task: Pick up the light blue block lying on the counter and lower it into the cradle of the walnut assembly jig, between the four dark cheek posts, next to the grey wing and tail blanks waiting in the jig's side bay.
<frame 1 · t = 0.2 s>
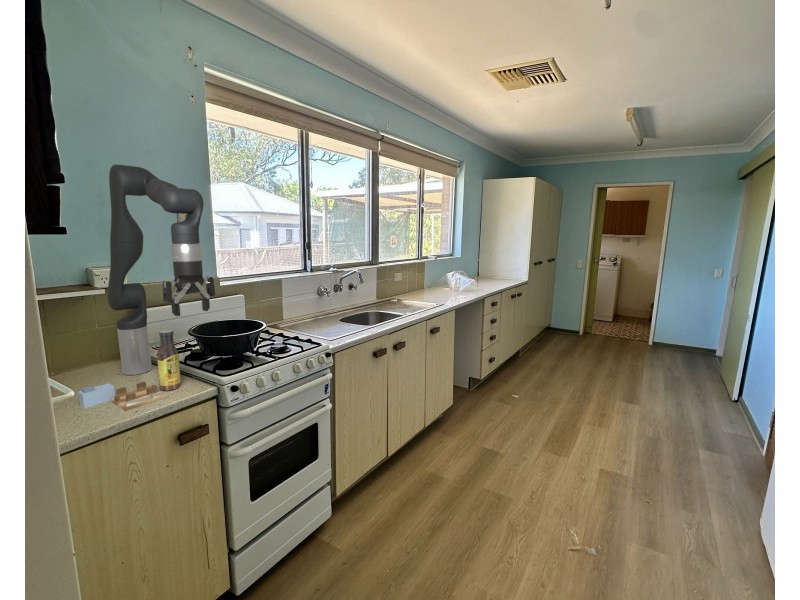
hand: (191, 313, 116), 29 cm above the countertop, tool pointing down, fingers open, 8 cm apart
light blue block: (98, 402, 121), on the countertop
sauce bottle: (170, 388, 132), on the countertop
jig: (137, 398, 124), on the countertop
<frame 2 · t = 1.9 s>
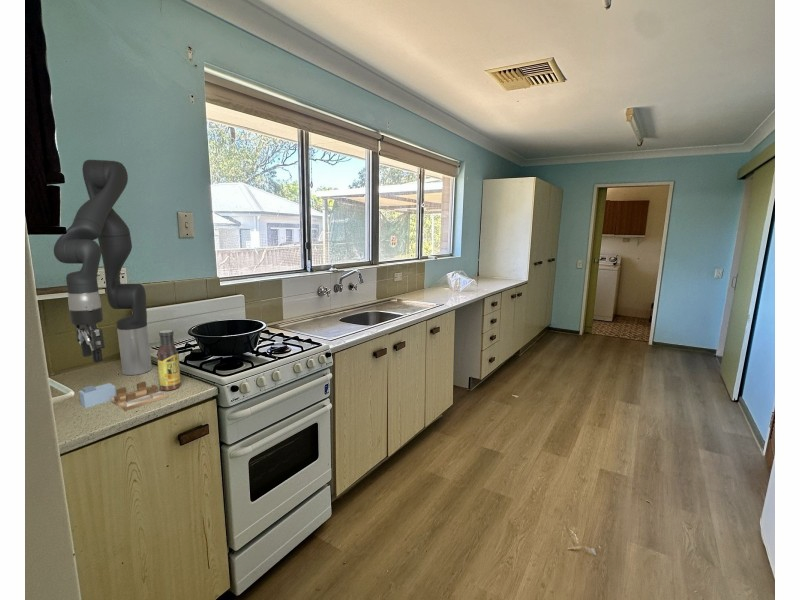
hand: (92, 358, 118), 14 cm above the countertop, tool pointing down, fingers open, 8 cm apart
nothing on the countertop moved.
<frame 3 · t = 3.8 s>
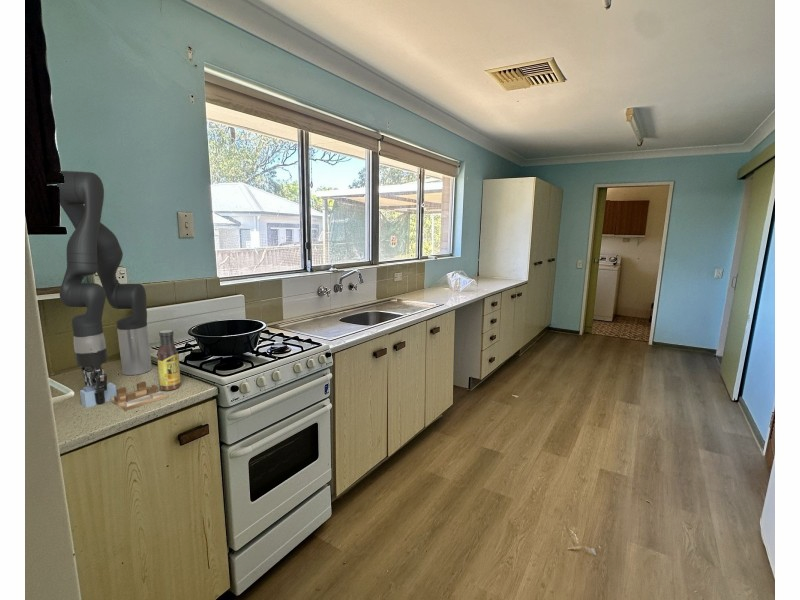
hand: (97, 400, 121), 0 cm above the countertop, tool pointing down, fingers closed on light blue block, 4 cm apart
light blue block: (99, 401, 121), on the countertop, touching gripper
everything else where it was.
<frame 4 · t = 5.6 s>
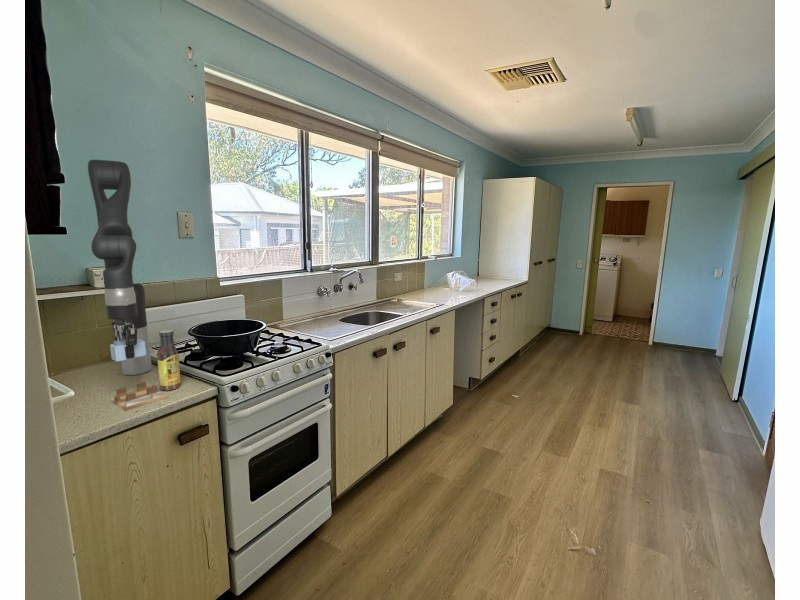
hand: (127, 356, 120), 14 cm above the countertop, tool pointing down, fingers closed on light blue block, 4 cm apart
light blue block: (129, 356, 121), point 14 cm above the countertop, touching gripper
everything else where it was.
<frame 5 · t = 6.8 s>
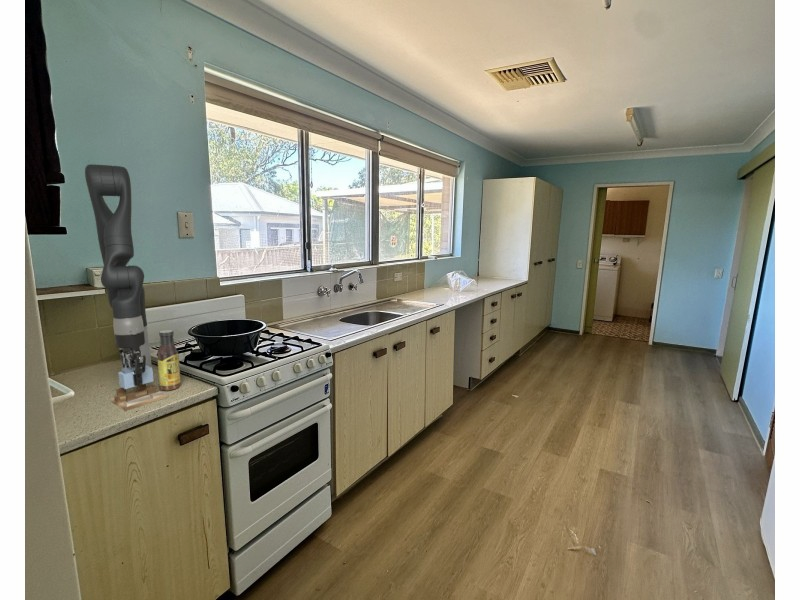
hand: (135, 382, 122), 5 cm above the countertop, tool pointing down, fingers closed on light blue block, 4 cm apart
light blue block: (136, 383, 123), point 5 cm above the countertop, touching gripper
everything else where it was.
when the fingers open (3 cm above the countertop, at t = 7.6 s): light blue block drops 1 cm, resting on jig.
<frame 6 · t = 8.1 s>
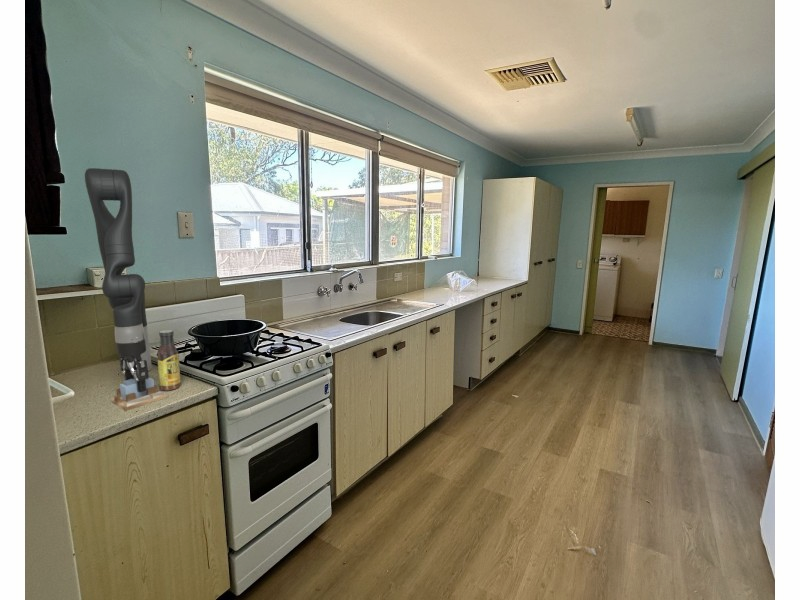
hand: (136, 387, 123), 4 cm above the countertop, tool pointing down, fingers open, 8 cm apart
light blue block: (138, 395, 124), point 1 cm above the countertop, touching jig
everything else where it was.
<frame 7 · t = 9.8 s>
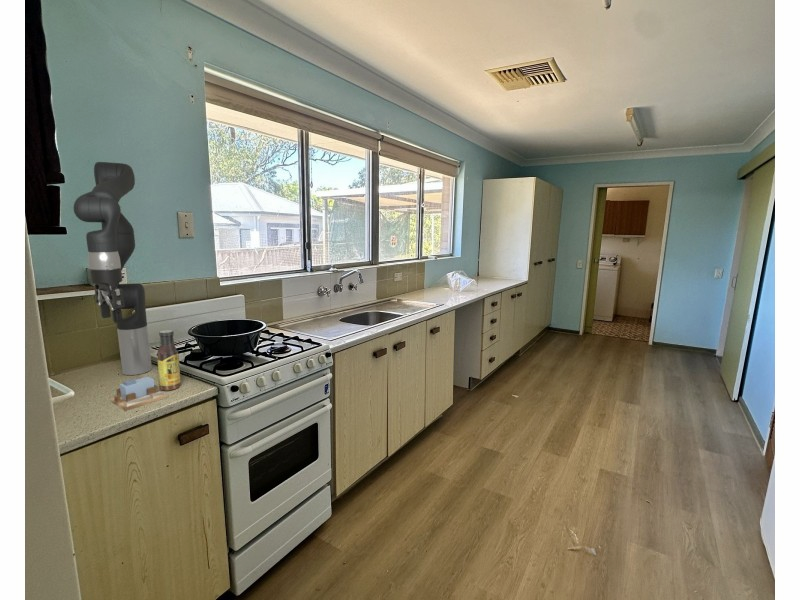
hand: (112, 319, 118), 26 cm above the countertop, tool pointing down, fingers open, 8 cm apart
nothing on the countertop moved.
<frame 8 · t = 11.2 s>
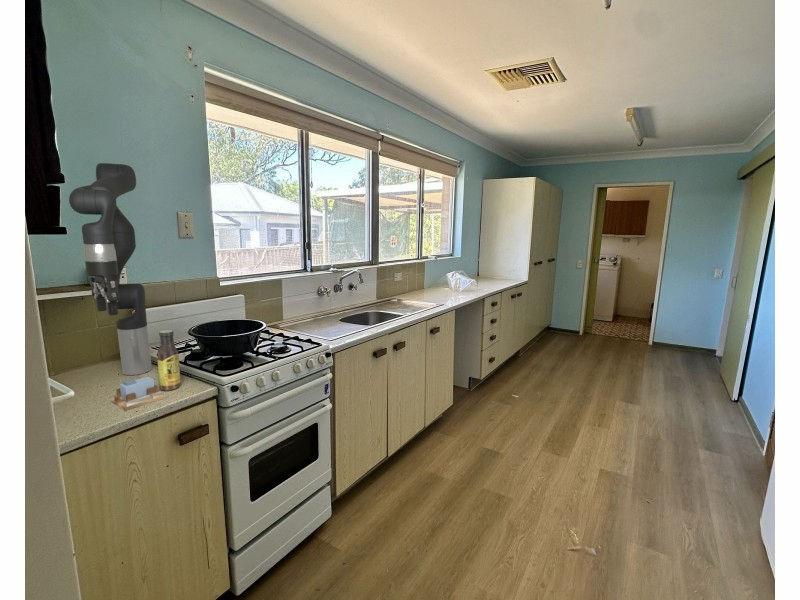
hand: (107, 312, 118), 28 cm above the countertop, tool pointing down, fingers open, 8 cm apart
nothing on the countertop moved.
at the end: light blue block 0.4 cm off-centre on the jig, point 1.0 cm above the jig's base; light blue block tilted 0°; the gripper is holding nothing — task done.
